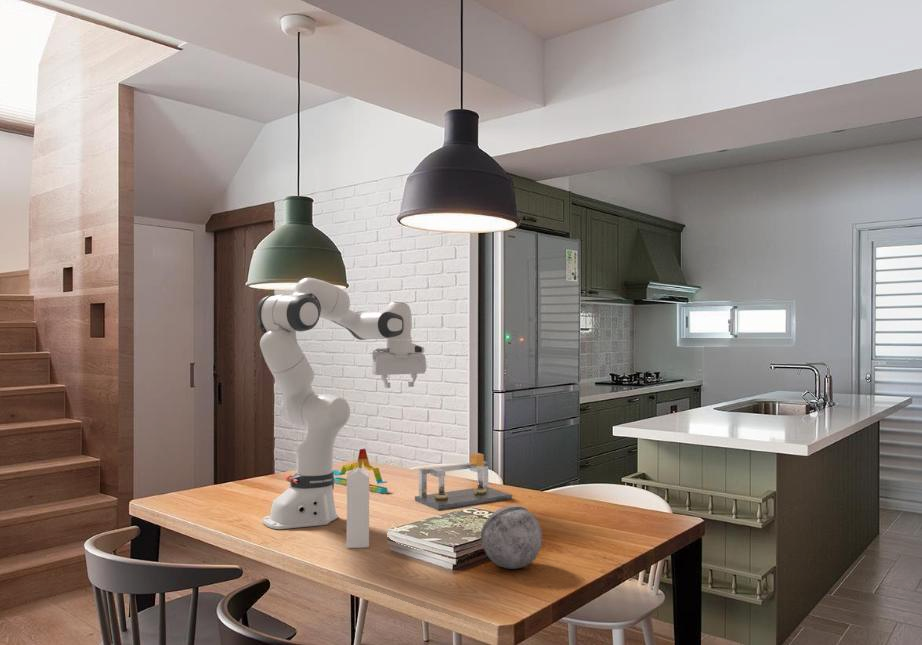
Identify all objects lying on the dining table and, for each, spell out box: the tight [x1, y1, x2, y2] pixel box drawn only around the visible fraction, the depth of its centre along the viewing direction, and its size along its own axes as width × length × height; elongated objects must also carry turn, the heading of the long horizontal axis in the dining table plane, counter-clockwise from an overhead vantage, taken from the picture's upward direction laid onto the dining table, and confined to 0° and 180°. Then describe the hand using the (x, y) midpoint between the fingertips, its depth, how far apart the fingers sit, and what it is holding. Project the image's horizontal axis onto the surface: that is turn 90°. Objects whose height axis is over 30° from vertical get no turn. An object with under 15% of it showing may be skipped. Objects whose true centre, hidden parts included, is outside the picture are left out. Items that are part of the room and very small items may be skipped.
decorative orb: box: [480, 505, 543, 570], centre depth 169 cm, size 15×14×15 cm
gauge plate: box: [414, 460, 513, 511], centre depth 241 cm, size 30×16×11 cm, turn 123°
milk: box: [346, 467, 370, 549], centre depth 188 cm, size 6×6×22 cm
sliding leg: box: [469, 452, 485, 488], centre depth 247 cm, size 3×6×12 cm, turn 33°
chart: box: [332, 448, 388, 495], centre depth 263 cm, size 30×3×15 cm, turn 47°
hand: (399, 387), depth 244 cm, fingers open, 8 cm apart
